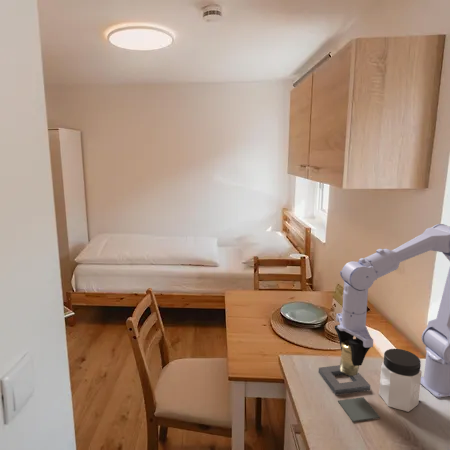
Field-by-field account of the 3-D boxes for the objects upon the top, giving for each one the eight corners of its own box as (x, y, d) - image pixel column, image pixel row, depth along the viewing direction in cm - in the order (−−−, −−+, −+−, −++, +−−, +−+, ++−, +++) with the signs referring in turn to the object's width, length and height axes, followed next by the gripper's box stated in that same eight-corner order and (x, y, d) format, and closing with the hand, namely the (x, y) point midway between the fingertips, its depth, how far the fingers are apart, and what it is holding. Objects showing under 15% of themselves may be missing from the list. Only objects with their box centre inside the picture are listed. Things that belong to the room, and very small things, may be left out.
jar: (404, 416, 81) (408, 371, 79) (373, 397, 88) (376, 355, 86) (423, 402, 86) (428, 359, 84) (392, 385, 93) (396, 344, 91)
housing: (350, 368, 100) (350, 363, 100) (370, 390, 91) (370, 385, 90) (318, 372, 99) (318, 367, 98) (335, 395, 89) (335, 390, 89)
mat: (363, 398, 88) (363, 397, 88) (379, 418, 81) (380, 416, 81) (338, 401, 86) (338, 400, 86) (352, 422, 80) (352, 420, 80)
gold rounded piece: (352, 362, 92) (355, 339, 90) (363, 375, 87) (367, 351, 85) (334, 364, 91) (337, 341, 89) (344, 377, 86) (348, 352, 84)
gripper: (326, 299, 92) (324, 345, 95) (354, 323, 78) (351, 377, 80) (350, 297, 93) (348, 342, 96) (383, 321, 79) (378, 374, 82)
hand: (351, 358), depth 88 cm, fingers closed on gold rounded piece, 5 cm apart
